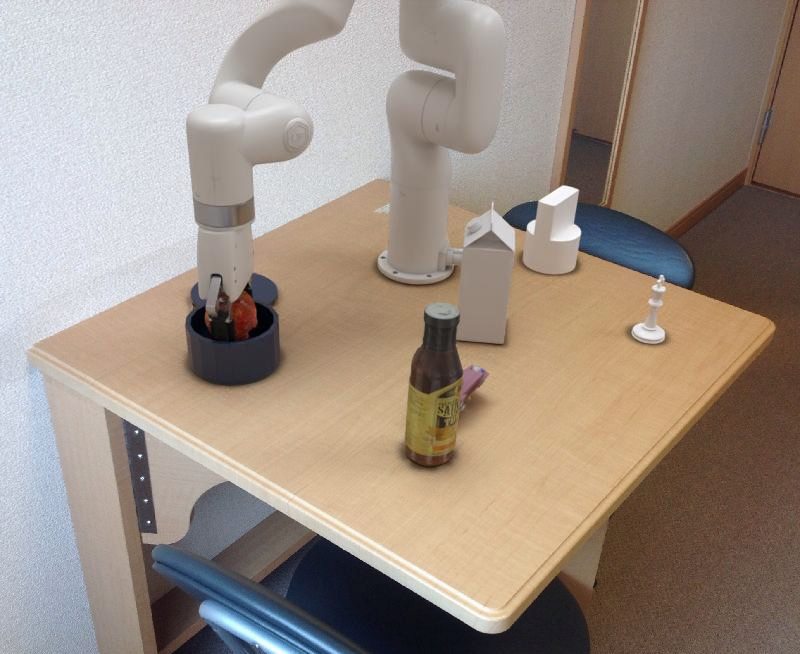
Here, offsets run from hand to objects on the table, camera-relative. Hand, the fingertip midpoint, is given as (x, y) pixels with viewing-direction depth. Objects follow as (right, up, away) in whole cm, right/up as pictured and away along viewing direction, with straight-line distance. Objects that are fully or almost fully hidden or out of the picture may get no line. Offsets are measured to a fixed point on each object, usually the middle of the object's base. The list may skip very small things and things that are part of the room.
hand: (233, 328), depth 125 cm
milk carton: (+34, 0, +12) cm, 37 cm away
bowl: (0, -4, +3) cm, 5 cm away
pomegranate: (0, -1, +1) cm, 2 cm away
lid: (-3, +7, +17) cm, 18 cm away
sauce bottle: (+26, -16, -12) cm, 33 cm away
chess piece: (+60, 0, +13) cm, 61 cm away
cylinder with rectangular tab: (+48, +14, +31) cm, 59 cm away
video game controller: (+30, -11, -4) cm, 32 cm away
